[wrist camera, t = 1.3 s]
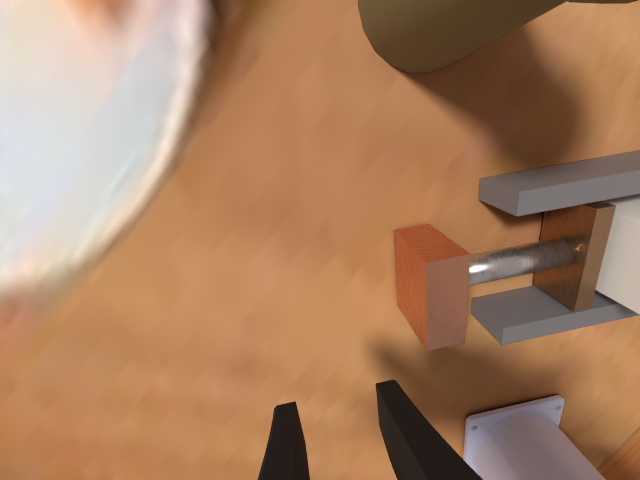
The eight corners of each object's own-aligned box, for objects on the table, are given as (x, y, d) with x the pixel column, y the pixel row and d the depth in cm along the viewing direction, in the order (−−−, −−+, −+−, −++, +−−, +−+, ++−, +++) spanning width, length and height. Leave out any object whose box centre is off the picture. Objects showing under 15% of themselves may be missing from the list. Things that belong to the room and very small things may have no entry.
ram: (547, 281, 20) (608, 319, 17) (397, 312, 20) (426, 358, 16) (563, 190, 18) (638, 211, 14) (393, 221, 17) (426, 252, 13)
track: (663, 273, 22) (719, 297, 19) (471, 313, 21) (501, 345, 18) (709, 138, 18) (787, 143, 15) (479, 178, 17) (519, 191, 14)
